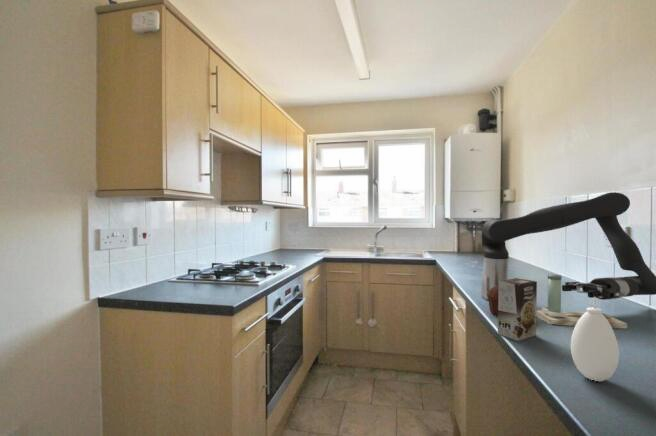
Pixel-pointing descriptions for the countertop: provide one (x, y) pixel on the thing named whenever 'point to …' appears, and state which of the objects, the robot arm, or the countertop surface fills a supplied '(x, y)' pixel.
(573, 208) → the robot arm
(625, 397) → the countertop surface
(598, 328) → the sauce bottle
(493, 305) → the muffin
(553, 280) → the green cylindrical container
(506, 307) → the coffee box
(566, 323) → the beige flat wavy piece
